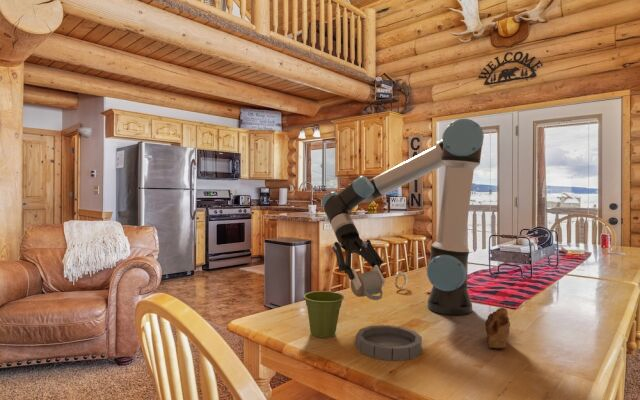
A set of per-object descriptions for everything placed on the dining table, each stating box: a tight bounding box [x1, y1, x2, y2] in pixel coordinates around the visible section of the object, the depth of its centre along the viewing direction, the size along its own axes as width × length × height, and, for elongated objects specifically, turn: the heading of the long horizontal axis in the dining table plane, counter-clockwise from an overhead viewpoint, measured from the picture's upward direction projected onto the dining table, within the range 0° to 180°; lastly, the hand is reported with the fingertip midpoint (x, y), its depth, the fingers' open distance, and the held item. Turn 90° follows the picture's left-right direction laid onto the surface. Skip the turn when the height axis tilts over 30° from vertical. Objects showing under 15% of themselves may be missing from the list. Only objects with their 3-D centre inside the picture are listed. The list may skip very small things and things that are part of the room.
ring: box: [393, 270, 408, 291], centre depth 170 cm, size 7×3×8 cm, turn 120°
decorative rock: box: [484, 307, 511, 349], centre depth 110 cm, size 12×6×11 cm, turn 159°
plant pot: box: [303, 290, 345, 339], centre depth 117 cm, size 12×12×11 cm
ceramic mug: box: [350, 270, 384, 301], centre depth 126 cm, size 10×8×7 cm
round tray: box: [355, 324, 423, 362], centre depth 108 cm, size 17×17×3 cm
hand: (371, 285), depth 124 cm, fingers closed on ceramic mug, 8 cm apart
